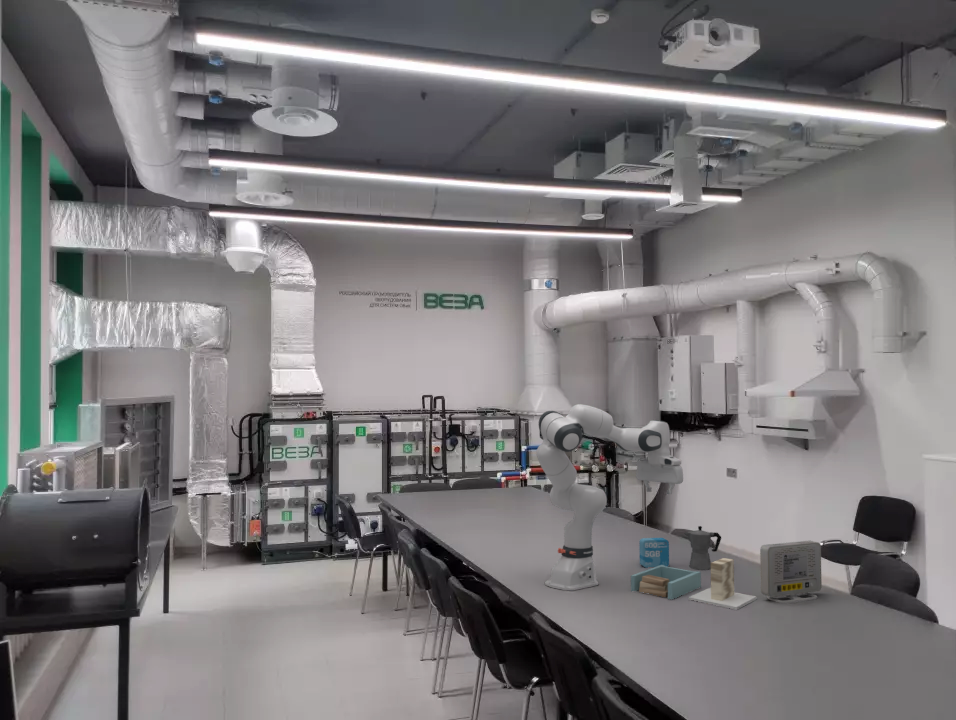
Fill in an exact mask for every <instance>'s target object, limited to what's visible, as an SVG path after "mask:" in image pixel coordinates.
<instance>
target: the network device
mask: <svg viewBox="0 0 956 720" xmlns="http://www.w3.org/2000/svg"><path fill="white" fill-rule="evenodd" d="M759 549H760V553H759V554H760V592H761V594H762V595H764V596H766V597H767V600H770V601H772V602H775V603H779V604H790V603H797V602H804V601H806V602H807V601H813V600H817V599H818V596H817V595H816V594H813V593H816V592H820V591H821V590H822V583H823V582H822V545H821V543H820V542H817V541H813V540H803V541H791V542H781V543H771V544H763V545H761V546H760V548H759ZM801 594H802V595H806V596H808V597H800V596H798V595H801ZM777 597H783V598H784V597H785V598H787V600H781V599H779V598H778V599H777Z"/></svg>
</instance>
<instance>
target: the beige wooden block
mask: <svg viewBox="0 0 956 720" xmlns="http://www.w3.org/2000/svg"><path fill="white" fill-rule="evenodd" d="M710 588H711V599H714V600H719V601H723V600H725V599H727V598H729V597H731V596H733V595H734V592H735V559H732V558H725V557H722V558H720V559H717V560H715V561H713V562H711V569H710Z"/></svg>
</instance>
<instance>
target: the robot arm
mask: <svg viewBox="0 0 956 720" xmlns="http://www.w3.org/2000/svg"><path fill="white" fill-rule="evenodd" d="M538 429H539V438H540V439H541V440H543V441H542V443H541V444H539V446H537V449H536V453H535V454H536V458H537V461H538V463H539V465H540V467H541V469H542V470H543V472H544V473H545V476H546V477H547V478H548V480H549V482H550V483H551V485H552V487H551V489H550V492H549V499H550V502H551V504H552V506H554V507H557V508H559V509H561V510H565V511H572V512H574V515H573V518H572V520H570V521H568V522H567V523H566V524H565V525H564V528H563V532H564V533H563V534H564V535H563V537H564V538H563V539H564V541H563V546H562V548H560V547H558V549H557V553H558V554H560V555H561V556H560V558H559V559H558V560H557V562H556V563H555V564H554V566H553V567H552V568H551V571H550V578H549V579H548V580H546V581H545V582H544V586H546V587H549V588H553V589H557V590H563V591H578V590H580V589H581V590H583V589H586V588H590V587H596V586H599V581H598V580H597V575H596V574H597V572H596V564H595V562H594V560H593V555H594V547H593V545H592V541H593V540H592V539H593V538H592V537H593V536H592V535H593V525H594V522H595V520H596V518H597V516H598V515H599V514H600V513H602V512H603V510H604V509H605V508H606V506H607V502H608V501H607V500H608V498H607V495H606V492H605V491H604V489H602V488H600V487H596V486H594V485H588V484H580V483H577V482H576V479H577V476H578V473H577V469H576V468H575V466H574V464H573V463H572V461H571V460H570V458H569V457H568V455H567V454H566V453H570V452H573V451H574V450H576V449H577V448H578V447H579V445H580V444H581V442H582V439H583V437H584V435H585V434H586V435H588V436H590V437H595V438H600V439H606V440H609V441H610V442H613V443H614V444H616V446H617V447H618V448H620V450H622V451H624V452H640V453H647V458H646V457H645V458H643V457H640V458H639V459H637V461H636V473H635V478H636V480H637V481H643V484H644V486H645V488H646V489H645V490H646V492H647V493H651V492H652V487H650V482H654V483H665V484H668V486H669V489H666V495H672V494H673V490H674V488H675V485H681V484H682V483H683V481H684V470H683V467H682V466H681V465H682V460H681V459H680V458H678V457H675V456H673V455H671V450H670V444H671V433H670V432H671V431H670V425H669V424H668V422H666V421H664V420H657V419H651V420H649V422H648V423H647V424H646V425H644V426H643V427H641V428H639V427H638V428H637V427H629V426H623V427H619V426H616V425H614V419H613V416H612V415H611V414H610V413H608V412H607V411H606V410H603V409H600V408H599V407H595V406H592V405H587V404H581V403H577V404H574V405H573V406H571V407H570V410H569V411H568V414H567V415H566V416H563V414H561V413H560V412H557V411H555V410H547V411H545V412H543V413H542V414H541V415H540V417H539V419H538Z"/></svg>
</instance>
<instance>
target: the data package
mask: <svg viewBox="0 0 956 720" xmlns="http://www.w3.org/2000/svg"><path fill="white" fill-rule="evenodd" d="M638 546H639V549H638V550H639V565H641V566H642V567H643V568H645V569H649V568H648V567H657V566H659V565H665V566H667V567H669V566H670V542H669V540H667V539H666V538H665V537H643V538H640V539H639V545H638Z"/></svg>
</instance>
